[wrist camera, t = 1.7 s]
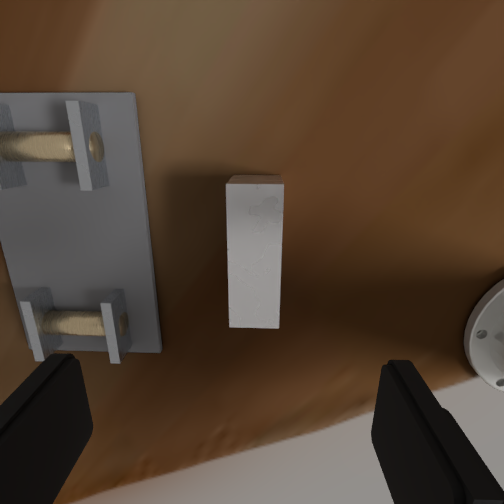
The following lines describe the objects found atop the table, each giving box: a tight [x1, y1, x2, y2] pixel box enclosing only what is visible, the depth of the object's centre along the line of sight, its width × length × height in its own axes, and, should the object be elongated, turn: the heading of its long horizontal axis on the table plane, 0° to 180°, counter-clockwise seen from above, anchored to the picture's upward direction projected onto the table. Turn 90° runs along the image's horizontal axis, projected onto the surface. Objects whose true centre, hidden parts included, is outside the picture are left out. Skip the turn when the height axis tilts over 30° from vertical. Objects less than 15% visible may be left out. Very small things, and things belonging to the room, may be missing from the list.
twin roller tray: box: [0, 101, 132, 364], centre depth 24 cm, size 7×20×2 cm, turn 0°
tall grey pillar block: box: [226, 175, 284, 329], centre depth 24 cm, size 4×10×5 cm, turn 0°
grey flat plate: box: [0, 92, 162, 353], centre depth 26 cm, size 12×21×1 cm, turn 0°
